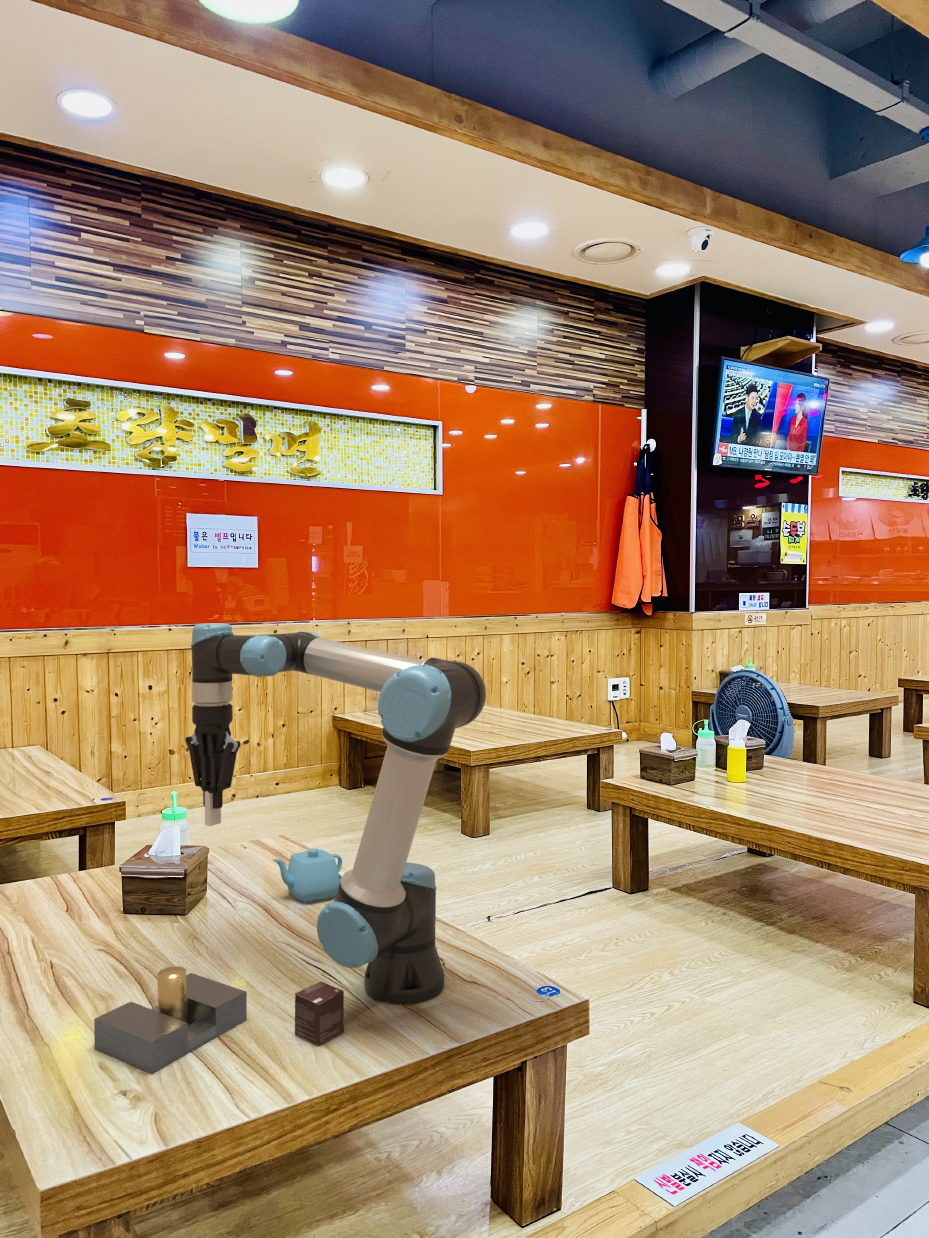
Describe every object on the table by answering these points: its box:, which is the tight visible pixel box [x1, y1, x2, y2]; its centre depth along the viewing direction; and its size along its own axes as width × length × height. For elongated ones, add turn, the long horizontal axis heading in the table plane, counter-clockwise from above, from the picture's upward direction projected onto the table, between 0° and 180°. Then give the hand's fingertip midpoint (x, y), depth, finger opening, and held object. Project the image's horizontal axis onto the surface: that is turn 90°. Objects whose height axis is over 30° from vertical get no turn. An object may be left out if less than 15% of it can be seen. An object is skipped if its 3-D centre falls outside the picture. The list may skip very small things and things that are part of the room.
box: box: [294, 981, 345, 1047], centre depth 147 cm, size 6×6×7 cm
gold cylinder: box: [156, 965, 187, 1023], centre depth 147 cm, size 5×5×10 cm
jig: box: [93, 972, 248, 1075], centre depth 147 cm, size 14×20×5 cm
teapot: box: [271, 847, 343, 904], centre depth 213 cm, size 12×18×12 cm
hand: (213, 823), depth 169 cm, fingers closed
